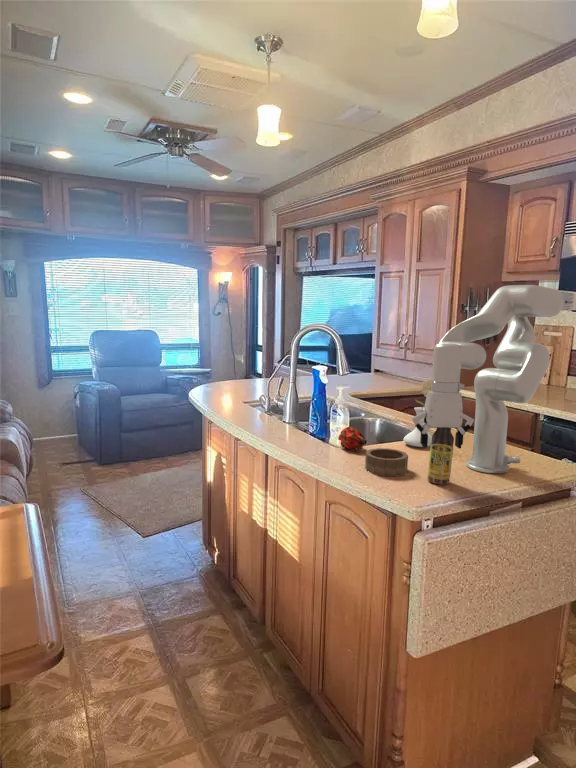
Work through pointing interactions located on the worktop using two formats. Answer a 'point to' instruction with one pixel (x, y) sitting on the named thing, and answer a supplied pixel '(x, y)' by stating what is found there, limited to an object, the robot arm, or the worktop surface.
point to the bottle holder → (386, 462)
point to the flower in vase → (415, 435)
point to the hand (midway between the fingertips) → (441, 446)
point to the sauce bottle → (440, 456)
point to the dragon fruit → (351, 438)
